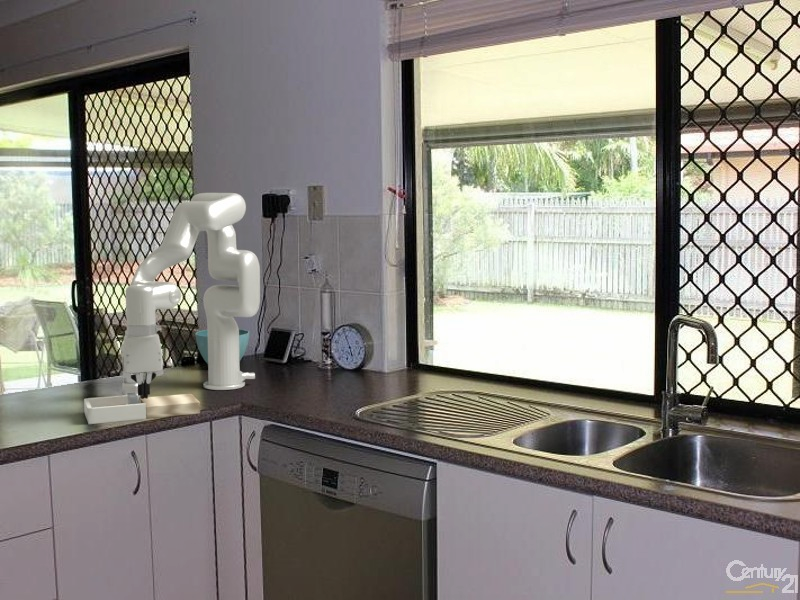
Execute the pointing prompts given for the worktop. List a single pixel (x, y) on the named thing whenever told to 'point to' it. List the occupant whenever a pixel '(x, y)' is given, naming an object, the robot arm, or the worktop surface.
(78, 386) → the worktop surface
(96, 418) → the box
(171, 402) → the plate
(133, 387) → the plastic bottle
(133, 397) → the slate tile
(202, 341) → the teal bowl
